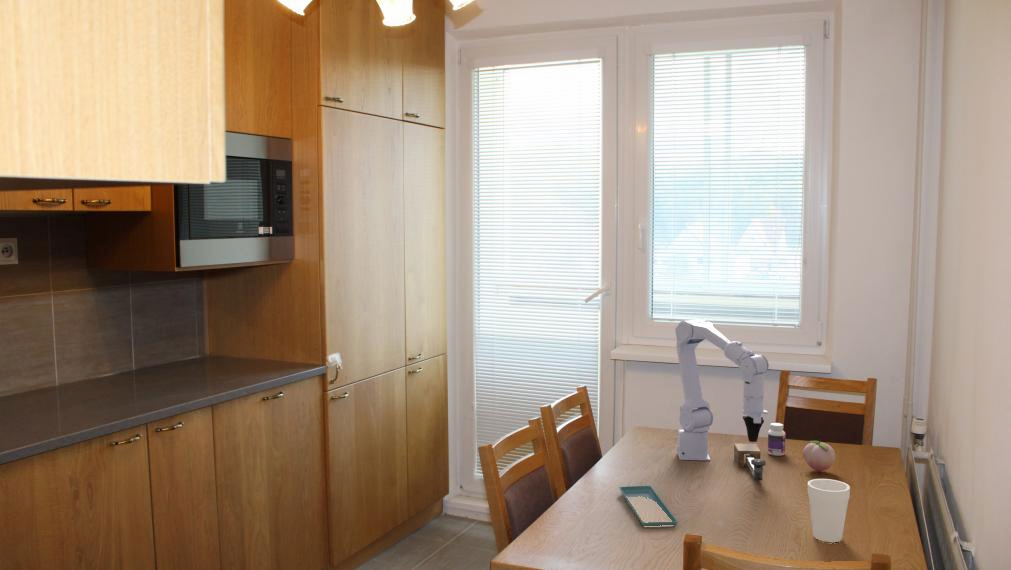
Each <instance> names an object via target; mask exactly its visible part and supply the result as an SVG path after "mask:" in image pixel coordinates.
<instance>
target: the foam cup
mask: <svg viewBox="0 0 1011 570" xmlns="http://www.w3.org/2000/svg"><path fill="white" fill-rule="evenodd" d="M850 491H851V486H850V485H849V484H848V483H846V482H843V481H840V480H838V479H829V478H814V479H810V480H808V481H807V492H806V493H807V495H808V501H809V502H808V504H809V512H810V520H811V527H812V536H814V537H815V538H816V539H819V540H822V541H828V542H838V541H840V540H841V541H842V539H843V534H844V528H845V522H846V516H847V511H848V504H849V500H850V497H851V496H850V495H851V492H850ZM816 539H815V540H816Z"/></svg>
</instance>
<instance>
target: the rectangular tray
mask: <svg viewBox="0 0 1011 570" xmlns="http://www.w3.org/2000/svg"><path fill="white" fill-rule="evenodd" d="M619 490H620V492H621V494H622V496H623V497H625V498H624V499H625V501H626V500H627V501H626V502H627V504H628V503H629V504H628V506H629V505H630V506H629V508H630V509H631V508H632V509H631V510H632V512H633V511H634V512H633V513H634V515H635V514H636V515H635V517H638V518H637V519H638V521H639V520H640V521H639V522H640V524H641V523H642V524H641V525H643V526H660V525H661V526H662V525H675V526H676V525H677V524H678V522H679V521H678V519H677V518H676V517H675V516H674V515H673V513H672V512H671V511H670V509H669V508H668V507H667V505H666V504H665V503H664V502H663V500H662V499H661V498H660V496H659V495H658V493H657V492H656V491H655V489H654V488H653V486H652V485H632V486H628V485H627V486H619ZM626 496H627V497H638V496H640V497H641V496H642V497H645V498H646V499H647V497H648V498H649V499H652V500H653V501H655V502H657V504H658V505H659V506H660V507H661V508H662V510H663V511H664V512H665V513H666V514H667V516H668V517H669V518H670V519H671V520H672V522H648V523H645V522H643V521H642V520H641V518H640V517H639V515H638V514H637V512H636V510H635V509H634V507H633V506H632V504H631V503H630V501H629V500H628V498H627V497H626ZM643 526H642V527H643Z"/></svg>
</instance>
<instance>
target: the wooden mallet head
mask: <svg viewBox="0 0 1011 570" xmlns="http://www.w3.org/2000/svg"><path fill="white" fill-rule="evenodd" d="M733 445H734V446H733V447H734V449H733V451H734V452H733V459H734V462H735V461H736V462H735V463H737V464H736V466H737V465H738V466H737V467H740V468H741V467H742V466H743V467H742V468H744V467H745V455H752V456H753V457H754V459H761V450H760V448H759V446H758V445H757V444H756V443H733Z"/></svg>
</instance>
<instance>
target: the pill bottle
mask: <svg viewBox="0 0 1011 570" xmlns="http://www.w3.org/2000/svg"><path fill="white" fill-rule="evenodd" d="M769 427H770V428H769V430H768V431H767V454H768V455H771V456H776V457H777V456H778V457H781V456H785V454H786V432H785V431H784V430H783V429H784V423H783V424H782V423H781V422H772V423H770V426H769Z"/></svg>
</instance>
